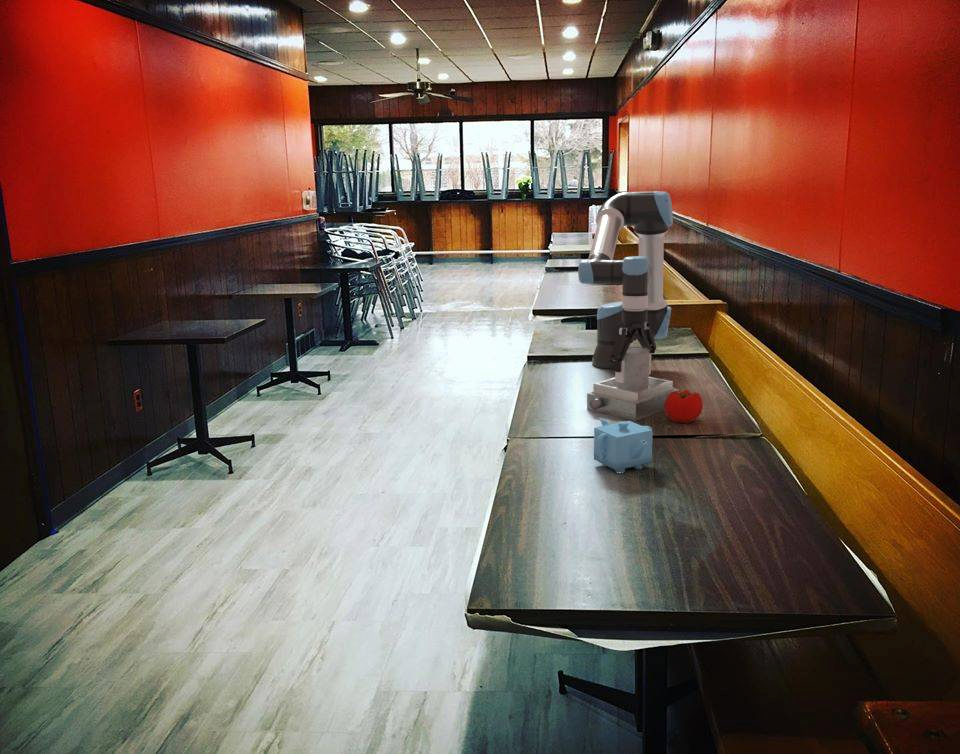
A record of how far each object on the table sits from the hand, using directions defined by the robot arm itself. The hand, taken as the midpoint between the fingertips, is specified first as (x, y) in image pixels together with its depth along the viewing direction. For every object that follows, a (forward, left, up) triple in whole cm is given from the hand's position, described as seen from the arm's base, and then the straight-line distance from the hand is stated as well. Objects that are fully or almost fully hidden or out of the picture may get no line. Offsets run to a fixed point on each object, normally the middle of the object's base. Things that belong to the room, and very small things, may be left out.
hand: (633, 378), depth 243 cm
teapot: (+43, +28, -10) cm, 52 cm away
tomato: (+2, +19, -10) cm, 21 cm away
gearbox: (+2, 0, -9) cm, 9 cm away
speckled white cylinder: (0, 0, -4) cm, 4 cm away
